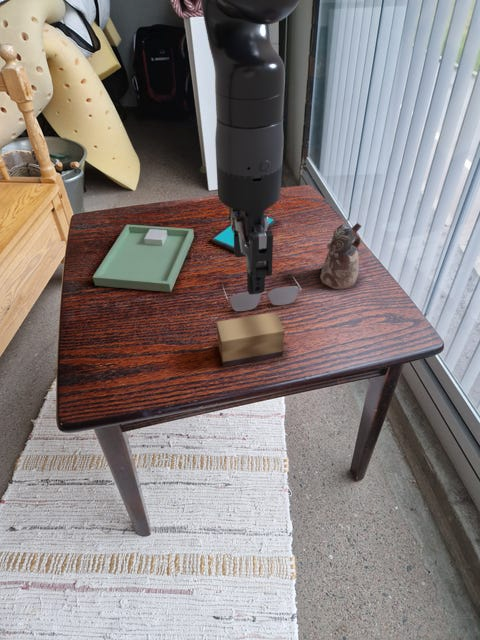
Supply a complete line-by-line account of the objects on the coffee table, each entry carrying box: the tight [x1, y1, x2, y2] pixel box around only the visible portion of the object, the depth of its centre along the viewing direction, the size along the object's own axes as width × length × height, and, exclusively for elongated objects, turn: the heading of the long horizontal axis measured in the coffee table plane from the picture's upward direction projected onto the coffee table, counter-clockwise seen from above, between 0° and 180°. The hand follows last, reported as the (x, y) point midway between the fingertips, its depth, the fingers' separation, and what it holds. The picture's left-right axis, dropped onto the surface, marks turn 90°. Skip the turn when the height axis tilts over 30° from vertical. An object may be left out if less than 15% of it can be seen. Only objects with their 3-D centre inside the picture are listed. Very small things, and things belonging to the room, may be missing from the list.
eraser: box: [215, 311, 285, 367], centre depth 68 cm, size 10×4×6 cm, turn 102°
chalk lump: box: [144, 229, 168, 246], centre depth 93 cm, size 4×4×2 cm
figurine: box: [319, 222, 362, 290], centre depth 80 cm, size 7×7×12 cm
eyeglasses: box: [221, 273, 302, 312], centre depth 80 cm, size 14×8×4 cm, turn 102°
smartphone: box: [211, 216, 276, 252], centre depth 96 cm, size 7×1×15 cm
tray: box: [92, 224, 195, 293], centre depth 89 cm, size 16×20×2 cm
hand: (248, 273), depth 59 cm, fingers open, 8 cm apart
